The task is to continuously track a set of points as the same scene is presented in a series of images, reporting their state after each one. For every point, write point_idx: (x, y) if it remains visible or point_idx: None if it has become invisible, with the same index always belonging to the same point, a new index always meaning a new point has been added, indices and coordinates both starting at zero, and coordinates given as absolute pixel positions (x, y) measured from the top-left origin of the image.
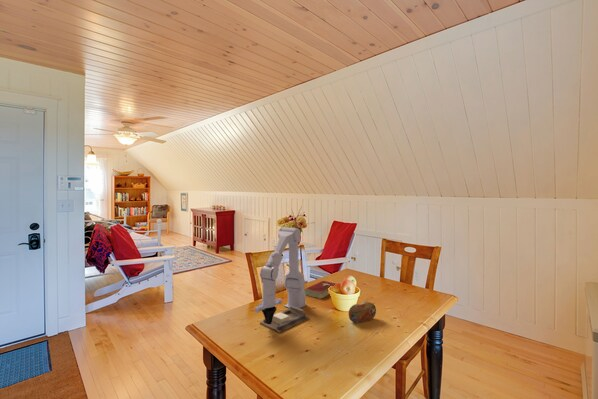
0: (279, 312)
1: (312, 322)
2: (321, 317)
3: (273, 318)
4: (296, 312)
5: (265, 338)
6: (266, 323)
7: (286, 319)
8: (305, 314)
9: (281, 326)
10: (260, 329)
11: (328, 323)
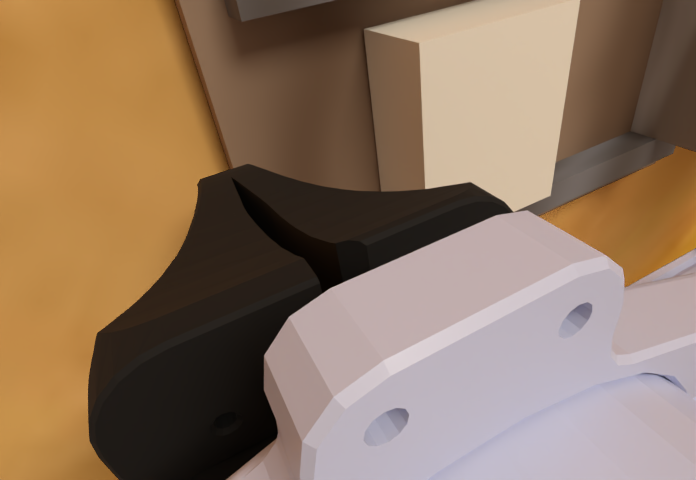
0: (567, 5)
1: (598, 227)
2: (686, 180)
3: (394, 69)
4: (682, 52)
5: (71, 382)
6: (243, 48)
7: None
8: (671, 151)
9: None
10: (75, 132)
11: (628, 278)
